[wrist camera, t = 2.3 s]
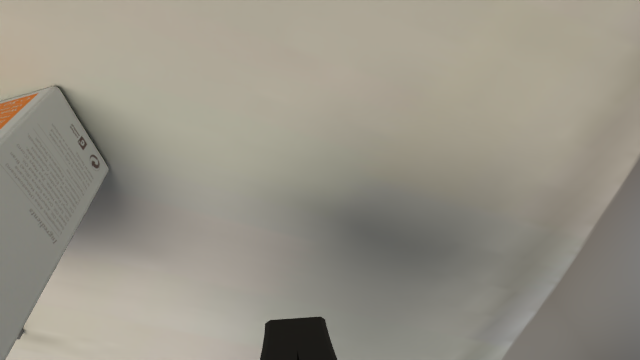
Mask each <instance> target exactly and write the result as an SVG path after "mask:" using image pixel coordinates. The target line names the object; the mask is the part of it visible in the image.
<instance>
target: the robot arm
mask: <svg viewBox="0 0 640 360" xmlns="http://www.w3.org/2000/svg"><path fill="white" fill-rule="evenodd" d="M260 360H337V358H336V355H335V352H334V350H333V347H332V344H331V341H330V337H329V334H328V330H327V327H326V322H325V319H323V318H322V317H309V318H295V319H281V320H270V321H268V322H267V323H266V324H265V335H264V342H263V348H262V353H261V358H260Z"/></svg>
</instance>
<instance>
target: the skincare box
mask: <svg viewBox="0 0 640 360" xmlns="http://www.w3.org/2000/svg"><path fill="white" fill-rule="evenodd" d="M108 171H109V169H108V166H107V165H106V163H105V161H104V160H103V158H102V156H101V155H100V153H99V152H98V150H97V148H96V147H95V145H94V144H93V142H92V141H91V139H90V138H89V136H88V134H87V133H86V131H85V129H84V128H83V126H82V125H81V123H80V122H79V120H78V118H77V117H76V115H75V113H74V112H73V110H72V109H71V107H70V105H69V104H68V102H67V100H66V99H65V97H64V95H63V94H62V92H61V91H60V89H59V88H58V87H55V86H53V87H49V88H46V89H43V90H40V91H36V92H33V93H30V94H26V95H22V96H18V97H15V98H11V99H8V100H4V101H0V360H5V359H6V357H7V356H8V354H9V352H10V350H11V348H12V347H13V345H14V343H15V341H16V339H17V337H18V335H19V333H20V331H21V330H22V328H23V326H24V324H25V323H26V321H27V319H28V317H29V315H30V314H31V312H32V310H33V308H34V306H35V304H36V303H37V301H38V299H39V297H40V295H41V293H42V292H43V290H44V288H45V286H46V284H47V282H48V281H49V279H50V277H51V275H52V273H53V272H54V270H55V268H56V266H57V264H58V262H59V261H60V259H61V257H62V255H63V253H64V252H65V250H66V248H67V246H68V244H69V242H70V240H71V239H72V237H73V235H74V233H75V231H76V229H77V228H78V226H79V224H80V222H81V220H82V219H83V217H84V215H85V213H86V212H87V210H88V208H89V206H90V204H91V202H92V201H93V199H94V197H95V195H96V193H97V191H98V190H99V188H100V186H101V184H102V182H103V180H104V178H105V177H106V175H107V173H108Z"/></svg>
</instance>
